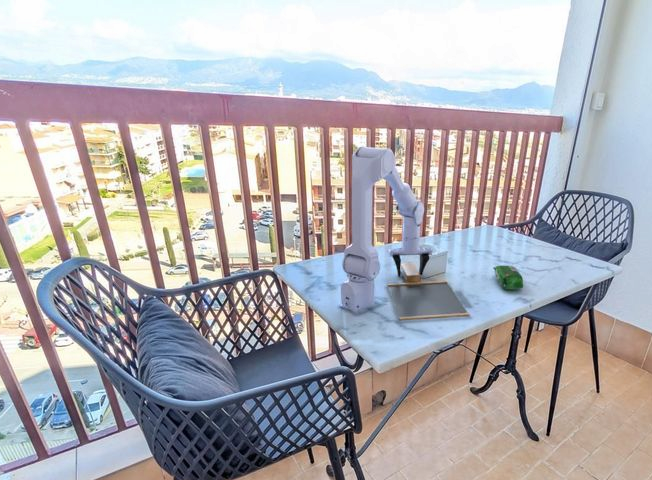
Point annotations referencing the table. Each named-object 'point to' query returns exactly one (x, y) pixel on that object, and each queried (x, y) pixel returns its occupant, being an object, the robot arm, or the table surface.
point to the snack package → (508, 277)
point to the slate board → (425, 300)
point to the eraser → (410, 272)
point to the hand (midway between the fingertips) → (410, 274)
